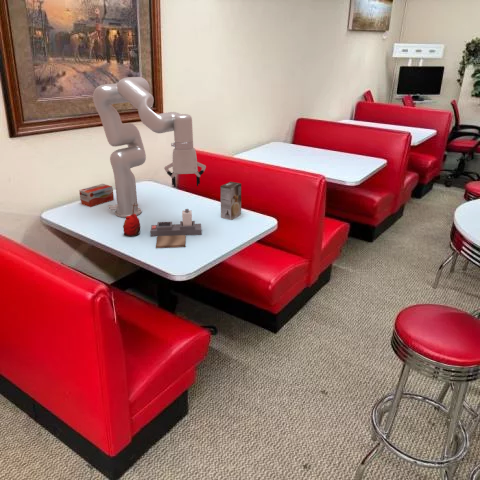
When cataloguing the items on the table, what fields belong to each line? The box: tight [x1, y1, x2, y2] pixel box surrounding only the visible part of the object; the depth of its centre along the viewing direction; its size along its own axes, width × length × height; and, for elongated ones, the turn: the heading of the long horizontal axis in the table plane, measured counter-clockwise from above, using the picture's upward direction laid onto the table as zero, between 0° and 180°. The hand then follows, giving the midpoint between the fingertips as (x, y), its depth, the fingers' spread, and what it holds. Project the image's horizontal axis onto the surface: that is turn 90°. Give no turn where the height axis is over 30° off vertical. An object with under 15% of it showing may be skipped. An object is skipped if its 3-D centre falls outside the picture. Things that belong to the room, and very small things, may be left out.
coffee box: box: [219, 181, 242, 221], centre depth 207 cm, size 9×6×16 cm
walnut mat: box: [155, 235, 187, 249], centre depth 182 cm, size 12×10×1 cm
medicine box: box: [78, 183, 115, 208], centre depth 225 cm, size 15×8×8 cm, turn 143°
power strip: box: [149, 220, 202, 238], centre depth 191 cm, size 22×7×4 cm, turn 96°
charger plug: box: [181, 208, 193, 226], centre depth 189 cm, size 4×4×8 cm
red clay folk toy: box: [122, 203, 141, 237], centre depth 186 cm, size 8×7×15 cm
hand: (186, 185), depth 184 cm, fingers open, 9 cm apart
